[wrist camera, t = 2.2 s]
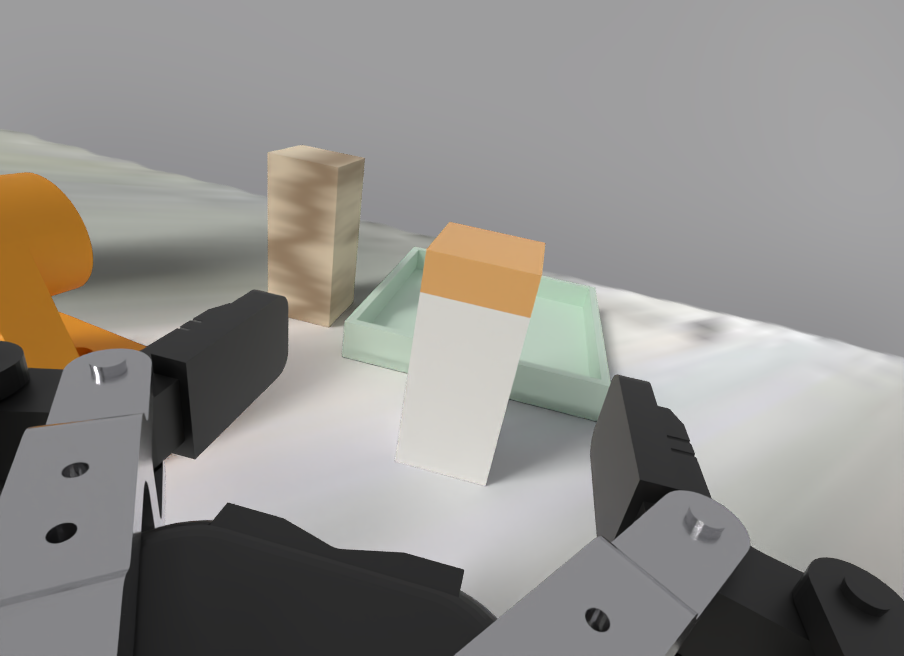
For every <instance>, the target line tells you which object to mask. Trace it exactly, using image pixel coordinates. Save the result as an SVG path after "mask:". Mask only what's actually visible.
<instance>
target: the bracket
mask: <svg viewBox="0 0 904 656" xmlns="http://www.w3.org/2000/svg"><path fill="white" fill-rule="evenodd" d="M92 267H93V252H92V246H91V242H90V238H89V235H88V232H87V230H86V227H85V225H84V223H83V221H82V219H81V217H80V215H79V213H78V212H77V210H76V208H75V207H74V205H73V204H72V203H71V201H70V200H69V199H68V198H67V196H66V195H65V194H64V193H63V192H62V191H61V190H60V189H59V188H58V187H57V186H56V185H54V184H53V183H52V182H50V181H49V180H47V179H46V178H44V177H42V176H40V175H37V174H34V173H27V172H26V173H16V174H7V175H0V341H6V342H11V343H15V344H17V345H19V346H20V347H21V348H22V349H23V351H24V355H25V359H26V363H27V367H28V368H44V369H64V368H65V367H66V366H67V365H68V364H69V363H70V362H71V361H73V360H74V359H76V358H78V357H80V356H83V355H85V354H88V353H91V352H95V351H100V350H105V349H119V348H120V349H133V350H137V351H140V350H142V349H144V348H145V347H147V346H144V345H142V344H139V343H137V342H134V341H132V340H129V339H126V338H124V337H121V336H119V335H116V334H114V333H111V332H109V331H106V330H104V329H101V328H99V327H96V326H94V325H91V324H89V323H86V322H84V321H81V320H79V319H76V318H74V317H71V316H69V315H66V314H64V313H61V312H58V310H57V308H56V306H55V304H54V302H53V299H52V297H51V296H53V295H57V294H60V293H63V292H66V291H69V290H72V289H76V288H79V287H81V286H83V285H84V284H85V283H86V282H87V281H88V279H89V277H90V275H91V272H92Z"/></svg>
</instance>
